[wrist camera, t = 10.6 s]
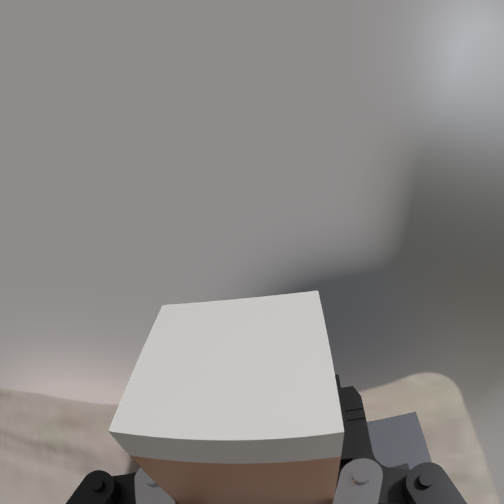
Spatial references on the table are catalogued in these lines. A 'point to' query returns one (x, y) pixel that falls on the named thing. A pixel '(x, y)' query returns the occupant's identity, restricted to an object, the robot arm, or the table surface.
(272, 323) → the plug
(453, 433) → the table surface
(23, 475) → the table surface
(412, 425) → the grey flat rectangular block
